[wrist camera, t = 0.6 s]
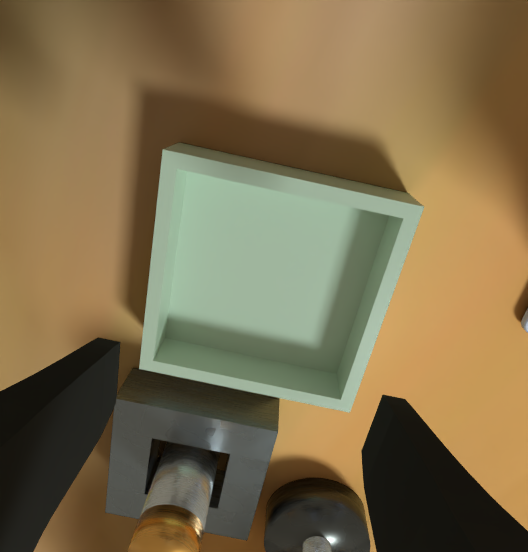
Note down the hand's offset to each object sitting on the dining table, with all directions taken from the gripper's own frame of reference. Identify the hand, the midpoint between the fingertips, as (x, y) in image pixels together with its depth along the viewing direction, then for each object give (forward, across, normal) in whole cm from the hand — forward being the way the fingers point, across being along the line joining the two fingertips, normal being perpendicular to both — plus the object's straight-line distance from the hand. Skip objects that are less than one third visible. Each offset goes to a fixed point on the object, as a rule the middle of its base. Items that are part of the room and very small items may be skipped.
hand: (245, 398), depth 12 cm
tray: (+9, 0, 0) cm, 9 cm away
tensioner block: (+9, -2, +13) cm, 16 cm away
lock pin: (+9, +2, +11) cm, 15 cm away
